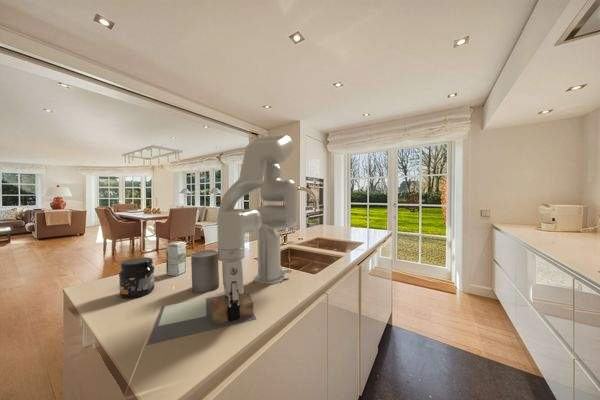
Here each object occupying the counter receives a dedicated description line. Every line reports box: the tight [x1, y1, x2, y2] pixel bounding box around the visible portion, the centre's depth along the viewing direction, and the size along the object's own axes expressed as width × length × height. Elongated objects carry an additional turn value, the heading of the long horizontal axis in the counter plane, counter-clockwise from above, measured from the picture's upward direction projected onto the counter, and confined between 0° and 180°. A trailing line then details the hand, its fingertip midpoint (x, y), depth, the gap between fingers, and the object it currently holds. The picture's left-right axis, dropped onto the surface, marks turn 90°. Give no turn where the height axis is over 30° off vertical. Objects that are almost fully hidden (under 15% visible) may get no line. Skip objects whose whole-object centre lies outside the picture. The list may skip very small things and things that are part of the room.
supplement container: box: [118, 256, 156, 299], centre depth 81 cm, size 10×10×12 cm
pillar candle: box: [190, 249, 220, 294], centre depth 85 cm, size 10×10×15 cm
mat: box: [146, 291, 257, 346], centre depth 66 cm, size 26×20×1 cm
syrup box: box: [165, 240, 187, 277], centre depth 101 cm, size 6×6×14 cm
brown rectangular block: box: [212, 292, 254, 325], centre depth 65 cm, size 11×6×4 cm, turn 114°
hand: (232, 312), depth 65 cm, fingers closed on brown rectangular block, 6 cm apart
